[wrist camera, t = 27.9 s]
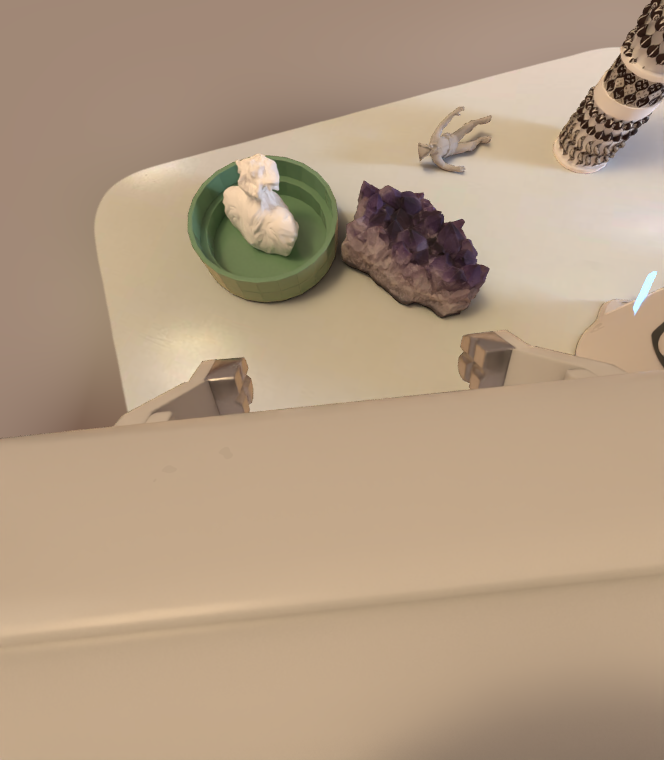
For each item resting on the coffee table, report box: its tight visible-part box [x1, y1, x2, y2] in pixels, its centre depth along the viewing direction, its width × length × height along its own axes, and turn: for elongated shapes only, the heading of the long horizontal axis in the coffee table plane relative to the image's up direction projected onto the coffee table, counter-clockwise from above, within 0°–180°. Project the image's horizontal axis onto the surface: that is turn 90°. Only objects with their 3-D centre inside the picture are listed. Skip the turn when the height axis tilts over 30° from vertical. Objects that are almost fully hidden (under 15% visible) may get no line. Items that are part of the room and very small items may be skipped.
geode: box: [341, 181, 489, 318], centre depth 39 cm, size 20×12×10 cm, turn 52°
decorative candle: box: [553, 0, 664, 174], centre depth 36 cm, size 9×9×25 cm
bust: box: [223, 154, 299, 256], centre depth 40 cm, size 12×8×11 cm
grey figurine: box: [418, 107, 491, 172], centre depth 46 cm, size 8×5×12 cm
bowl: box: [188, 155, 338, 302], centre depth 42 cm, size 19×19×6 cm
